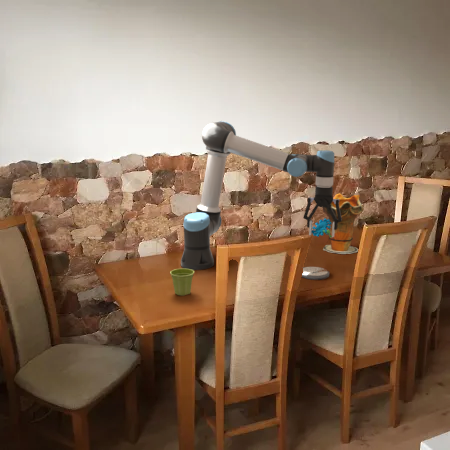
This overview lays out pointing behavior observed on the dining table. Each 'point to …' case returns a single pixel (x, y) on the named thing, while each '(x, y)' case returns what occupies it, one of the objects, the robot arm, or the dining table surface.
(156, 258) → the dining table surface
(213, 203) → the robot arm
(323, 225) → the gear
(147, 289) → the dining table surface
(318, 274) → the plate
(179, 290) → the plant pot
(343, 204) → the decorative vase
